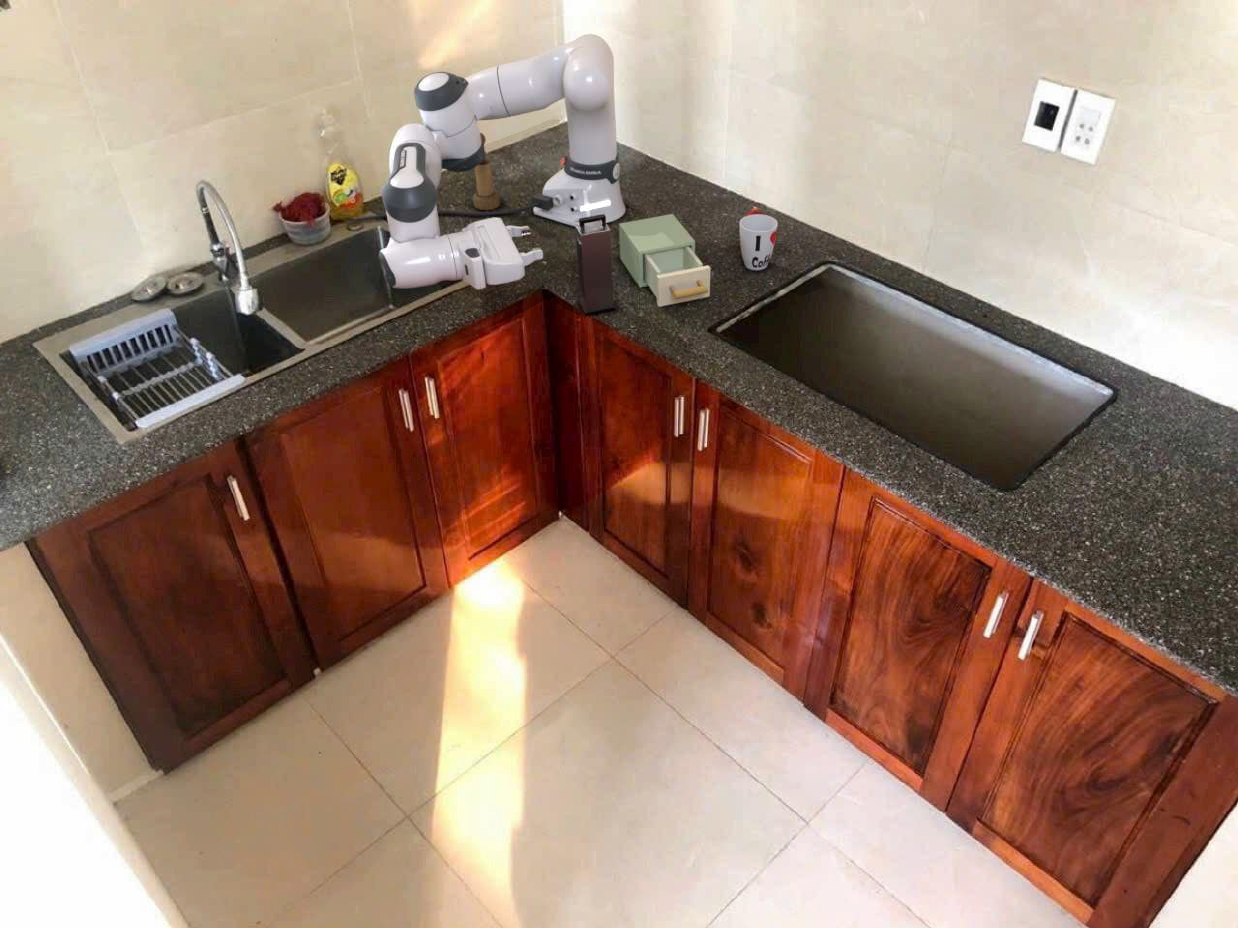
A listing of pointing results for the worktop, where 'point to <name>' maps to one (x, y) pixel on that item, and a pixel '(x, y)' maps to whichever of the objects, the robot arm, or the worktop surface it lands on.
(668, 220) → the cabinet
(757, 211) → the onion
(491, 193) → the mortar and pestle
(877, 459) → the worktop surface
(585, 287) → the grater
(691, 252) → the drawer
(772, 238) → the cup
